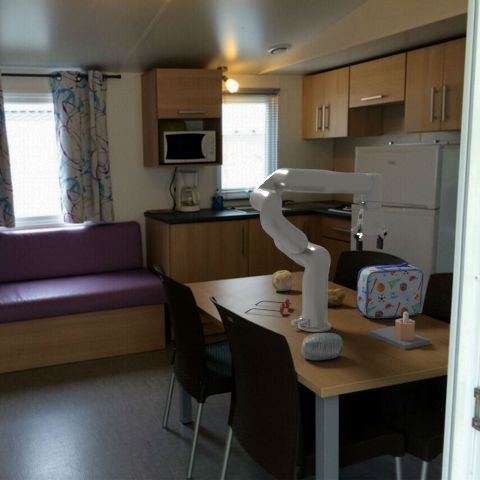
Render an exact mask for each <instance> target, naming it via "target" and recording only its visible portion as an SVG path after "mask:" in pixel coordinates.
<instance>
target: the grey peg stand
mask: <svg viewBox="0 0 480 480" xmlns="http://www.w3.org/2000/svg"><path fill="white" fill-rule="evenodd" d="M409 317H410V316H409V313H408V312H404V313H403V317H402V318H403V323H408V319H410V318H409ZM368 336H370V337H373V338H375V339H378V340H380V341H383V342H384V343H387V344H388V345H389V344H390V345H391V346H395V347H397V348H399V349H401V350H409V349H413V348H418V347H419V348H420V347H423V346H427V345H430V344H431V339H429V338H427V337H424V336H421V335H418V334H416V333H414V340H410V341H403V340H398V339H396V338H395V325H391V326H387V327H383V328H382V327H381V328H377V329H372V330H368Z"/></svg>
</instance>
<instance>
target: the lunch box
mask: <svg viewBox="0 0 480 480" xmlns="http://www.w3.org/2000/svg"><path fill="white" fill-rule="evenodd" d="M356 282H357V283H356V302H355V304H356V310H357V311H358V312H359V313H361V314H364V315H365V316H366V317H368V318H370V319H390V318H391V319H394V318H395V319H396V318H403V313H404V312H408V313H409V317H410V316H415V315H417V314H419V313H420V311H421V308H422V303H423V302H422V301H423V286H424V272H423V270H421V268H417V267H414V266H413V265H411V264H410V263H409V262H403V263H400V264H389V265H384V264H383V265H366V266H364V267H362V268H361V269H360V270H359V271H358V275H357V281H356Z"/></svg>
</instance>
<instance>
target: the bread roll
mask: <svg viewBox="0 0 480 480" xmlns="http://www.w3.org/2000/svg"><path fill="white" fill-rule="evenodd" d="M345 299H346V292H345V289H344V288H342V287H341V288H335V289H328V307H332V308H333V307H340V306H341V305H342V304H343V301H344V300H345Z"/></svg>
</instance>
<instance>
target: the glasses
mask: <svg viewBox="0 0 480 480" xmlns="http://www.w3.org/2000/svg"><path fill="white" fill-rule="evenodd" d="M262 302H266V303H277V304H280V306H279V310H278V309H277V310H275V309H265V308H264V309H263V308H255V307H254V308H250V309H248V310H246V311H245V312H244V314H247V313H249V312H250V311H251V310H257V311H258V310H260V311H268V312H269V311H271V312H279V314H280V315H282V316H283V315H284V311H285V309H287V310H289V309H290V306H291V305H292V302H290V299H289V298H286V299H285V301H283V302H282V301H272V300H261V301H259V302H256V303H255V304H254V305H255V306H257V305H259V304H260V303H262Z"/></svg>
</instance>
